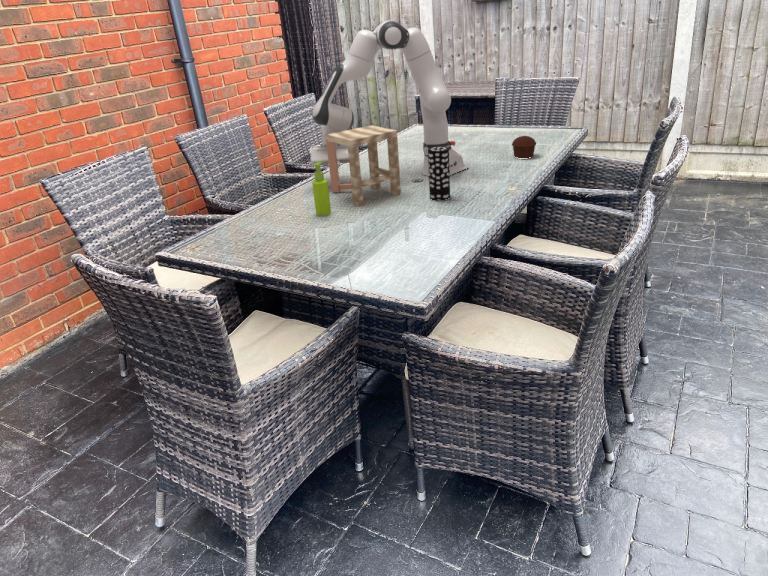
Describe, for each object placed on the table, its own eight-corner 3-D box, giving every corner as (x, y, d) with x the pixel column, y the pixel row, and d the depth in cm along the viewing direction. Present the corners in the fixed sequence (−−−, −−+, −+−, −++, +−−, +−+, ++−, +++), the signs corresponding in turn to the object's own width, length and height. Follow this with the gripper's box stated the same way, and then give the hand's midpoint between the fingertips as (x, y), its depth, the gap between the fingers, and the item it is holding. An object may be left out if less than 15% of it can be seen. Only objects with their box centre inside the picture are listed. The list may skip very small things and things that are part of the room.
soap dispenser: (334, 210, 234) (328, 160, 225) (327, 216, 228) (321, 165, 219) (321, 209, 236) (315, 160, 227) (313, 215, 230) (307, 165, 221)
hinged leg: (361, 189, 255) (357, 136, 245) (360, 191, 252) (355, 138, 242) (333, 190, 257) (327, 137, 247) (332, 192, 255) (325, 139, 244)
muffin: (532, 153, 291) (533, 133, 287) (538, 159, 281) (539, 138, 277) (508, 155, 291) (509, 135, 287) (513, 161, 281) (514, 140, 277)
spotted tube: (449, 201, 234) (448, 151, 225) (428, 201, 236) (426, 151, 227) (451, 194, 241) (450, 146, 232) (431, 194, 243) (429, 146, 234)
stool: (376, 185, 260) (371, 125, 249) (400, 193, 247) (396, 130, 235) (334, 197, 250) (327, 134, 238) (357, 206, 236) (351, 140, 224)
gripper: (308, 142, 256) (310, 170, 252) (354, 138, 257) (357, 165, 253) (309, 150, 262) (311, 177, 258) (355, 146, 263) (358, 173, 259)
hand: (334, 171), depth 255 cm, fingers closed
